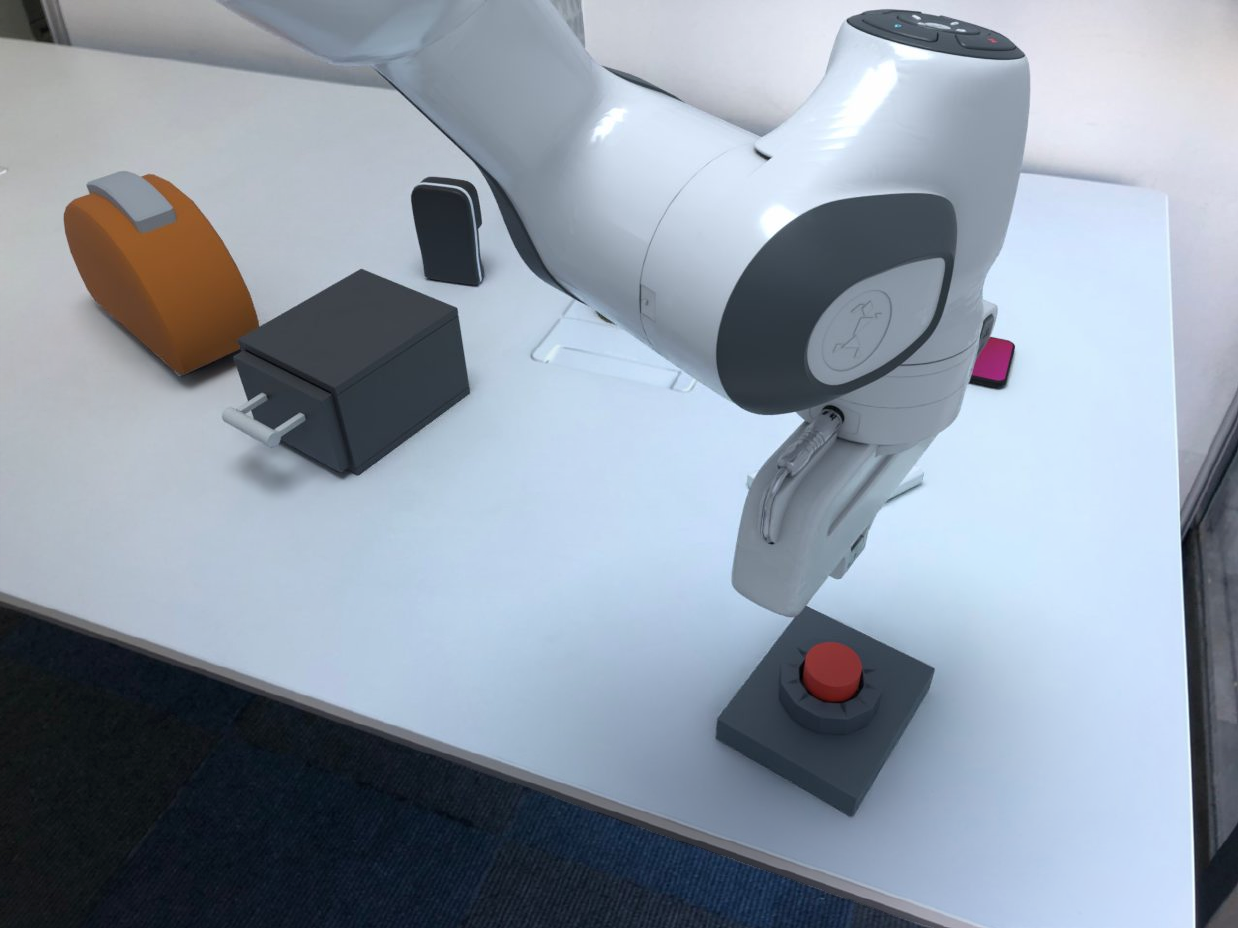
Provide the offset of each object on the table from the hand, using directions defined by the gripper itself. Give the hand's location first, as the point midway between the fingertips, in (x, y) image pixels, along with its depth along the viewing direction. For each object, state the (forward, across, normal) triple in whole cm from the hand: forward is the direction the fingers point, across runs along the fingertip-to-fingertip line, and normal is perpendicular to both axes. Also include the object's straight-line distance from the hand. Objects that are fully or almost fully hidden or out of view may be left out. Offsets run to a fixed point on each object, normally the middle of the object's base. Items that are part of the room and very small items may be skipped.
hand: (839, 560), depth 58 cm
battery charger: (+15, +30, +60) cm, 69 cm away
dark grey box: (+15, +7, +50) cm, 53 cm away
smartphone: (+15, +45, +10) cm, 48 cm away
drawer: (+15, +3, +50) cm, 53 cm away
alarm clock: (+16, +5, +77) cm, 79 cm away
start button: (+12, +1, -1) cm, 12 cm away
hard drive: (+15, +22, +9) cm, 28 cm away
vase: (+15, +65, +76) cm, 101 cm away
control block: (+15, +1, -1) cm, 15 cm away
